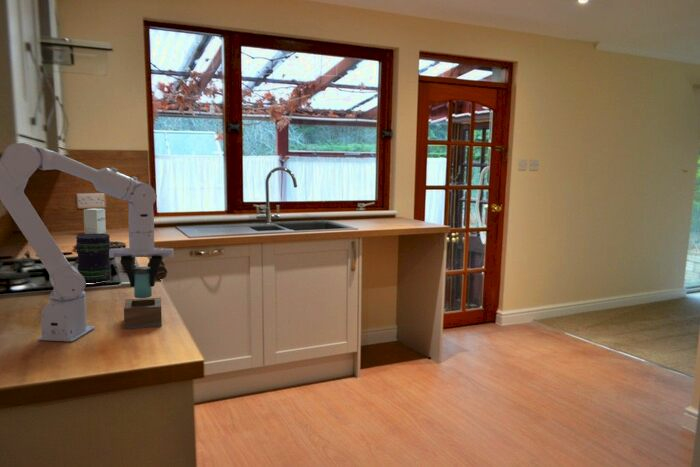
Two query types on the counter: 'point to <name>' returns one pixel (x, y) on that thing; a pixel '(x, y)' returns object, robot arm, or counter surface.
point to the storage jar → (94, 257)
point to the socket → (142, 313)
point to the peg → (142, 282)
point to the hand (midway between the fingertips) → (142, 285)
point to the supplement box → (94, 221)
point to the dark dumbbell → (160, 271)
